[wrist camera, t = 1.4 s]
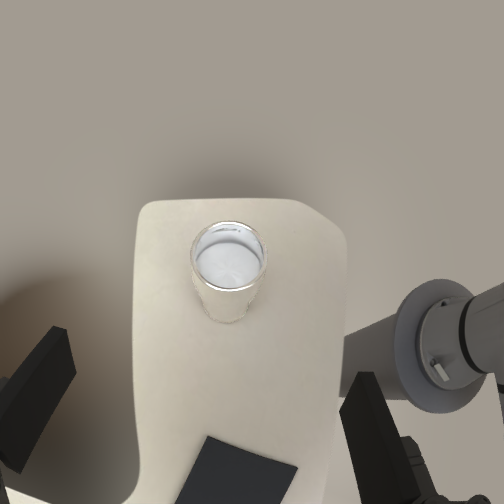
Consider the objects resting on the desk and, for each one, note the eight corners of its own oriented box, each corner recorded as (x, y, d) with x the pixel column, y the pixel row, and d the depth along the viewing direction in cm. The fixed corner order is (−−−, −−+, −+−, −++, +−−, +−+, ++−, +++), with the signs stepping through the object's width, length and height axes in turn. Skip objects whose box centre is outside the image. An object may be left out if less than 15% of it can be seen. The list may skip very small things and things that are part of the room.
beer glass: (247, 331, 39) (263, 301, 25) (193, 320, 39) (179, 284, 25) (256, 280, 42) (275, 226, 28) (205, 270, 41) (199, 211, 28)
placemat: (297, 467, 32) (298, 468, 31) (259, 536, 27) (260, 538, 27) (207, 435, 33) (207, 436, 32) (172, 508, 28) (171, 509, 27)
